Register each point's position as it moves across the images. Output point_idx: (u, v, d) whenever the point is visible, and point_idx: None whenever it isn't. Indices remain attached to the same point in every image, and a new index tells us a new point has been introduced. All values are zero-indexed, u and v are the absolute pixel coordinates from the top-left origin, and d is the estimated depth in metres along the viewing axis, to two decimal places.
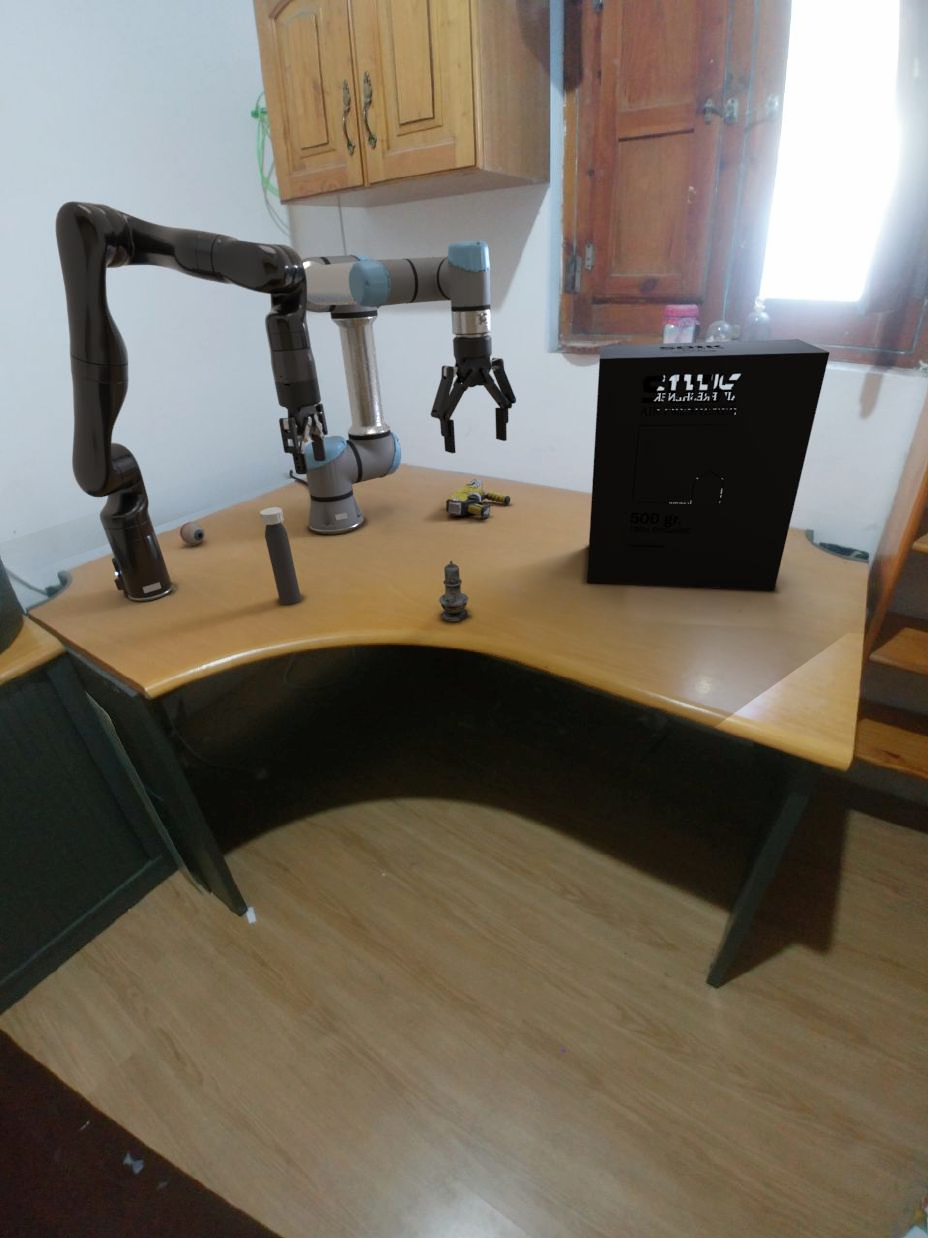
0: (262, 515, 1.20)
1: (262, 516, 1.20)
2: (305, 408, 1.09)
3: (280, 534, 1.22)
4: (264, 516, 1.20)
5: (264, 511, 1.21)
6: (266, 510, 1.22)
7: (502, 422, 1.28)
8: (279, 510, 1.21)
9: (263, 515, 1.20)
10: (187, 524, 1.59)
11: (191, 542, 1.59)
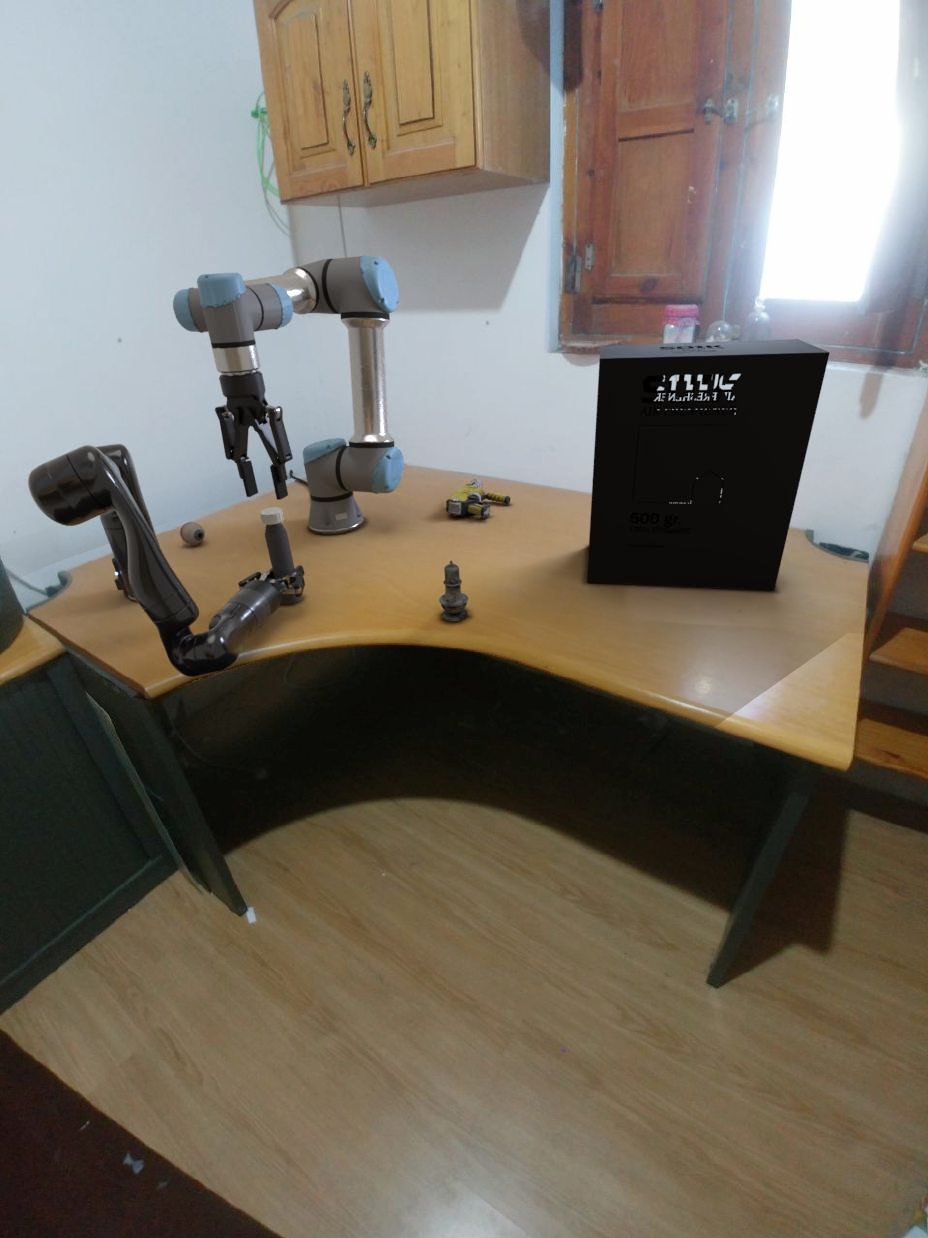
0: (262, 515, 1.20)
1: (262, 516, 1.20)
2: None
3: (280, 534, 1.22)
4: (264, 516, 1.20)
5: (264, 511, 1.21)
6: (266, 510, 1.22)
7: (252, 474, 1.20)
8: (279, 510, 1.21)
9: (263, 515, 1.20)
10: (187, 524, 1.59)
11: (191, 542, 1.59)
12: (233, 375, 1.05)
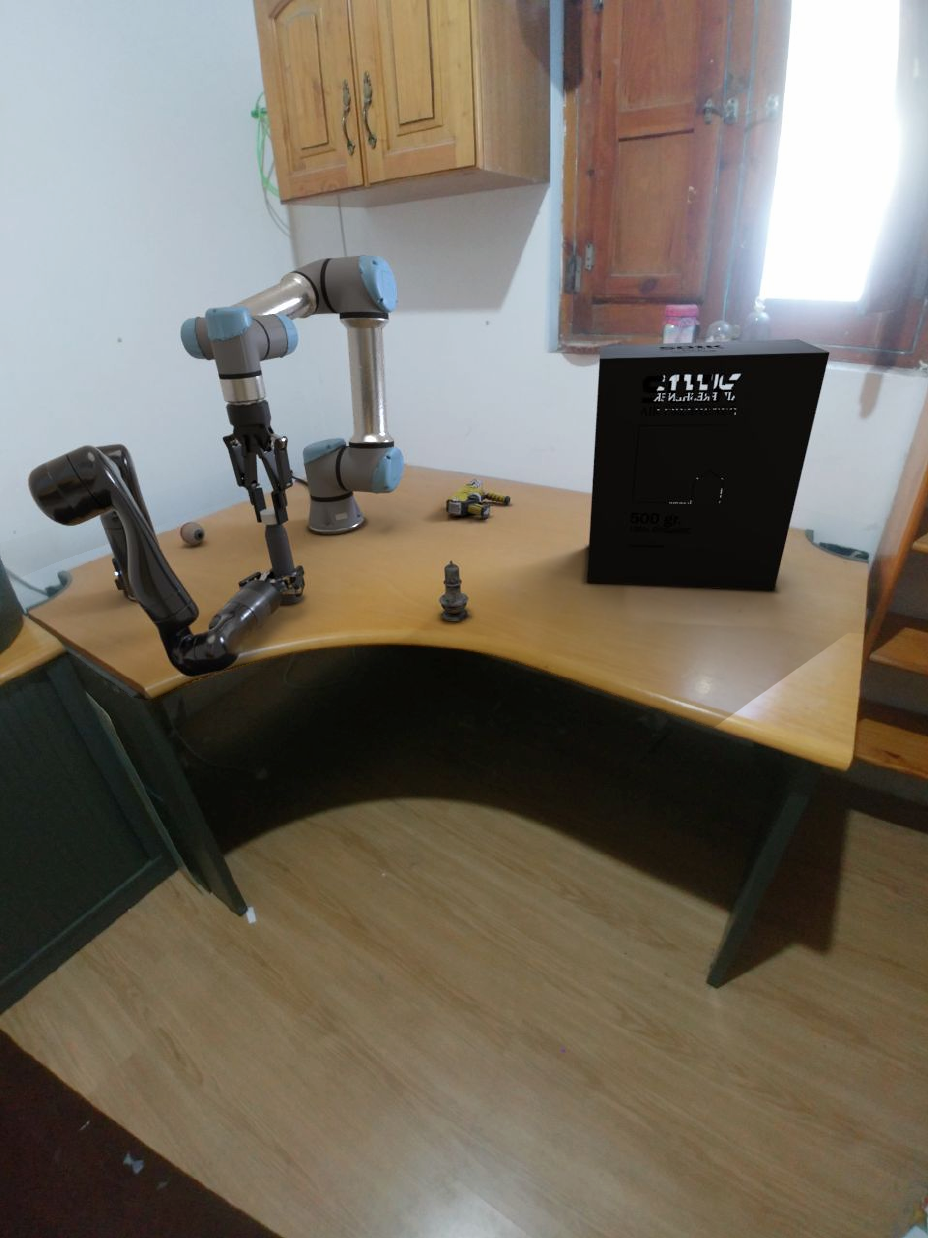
0: (262, 515, 1.20)
1: (262, 516, 1.20)
2: None
3: (280, 534, 1.22)
4: (264, 516, 1.20)
5: (264, 511, 1.21)
6: (266, 510, 1.22)
7: (263, 501, 1.22)
8: None
9: (263, 515, 1.20)
10: (187, 524, 1.59)
11: (191, 542, 1.59)
12: (240, 405, 1.08)
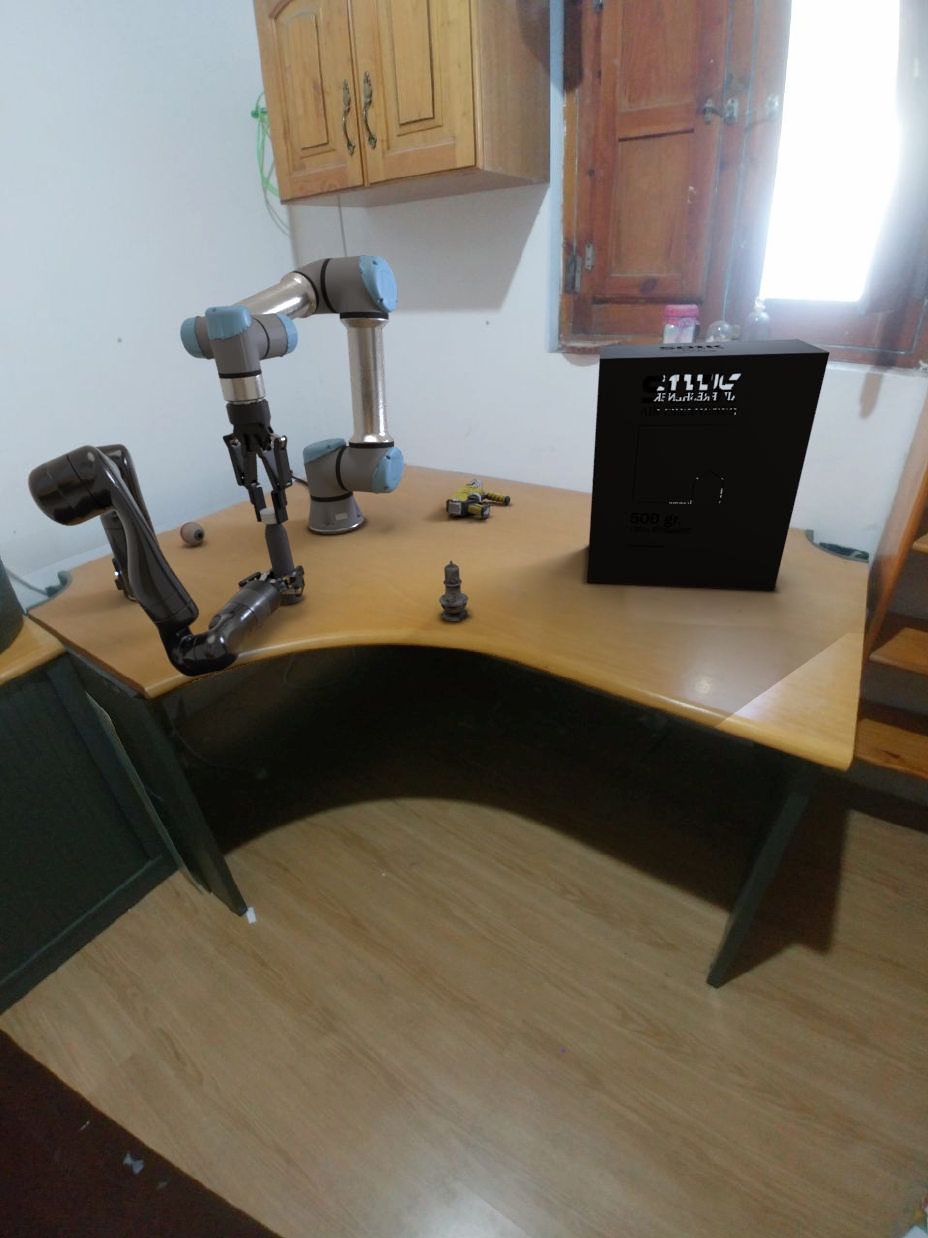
0: None
1: None
2: None
3: (280, 534, 1.22)
4: None
5: None
6: (271, 512, 1.20)
7: (263, 500, 1.22)
8: (265, 508, 1.22)
9: None
10: (187, 524, 1.59)
11: (191, 542, 1.59)
12: (239, 404, 1.08)
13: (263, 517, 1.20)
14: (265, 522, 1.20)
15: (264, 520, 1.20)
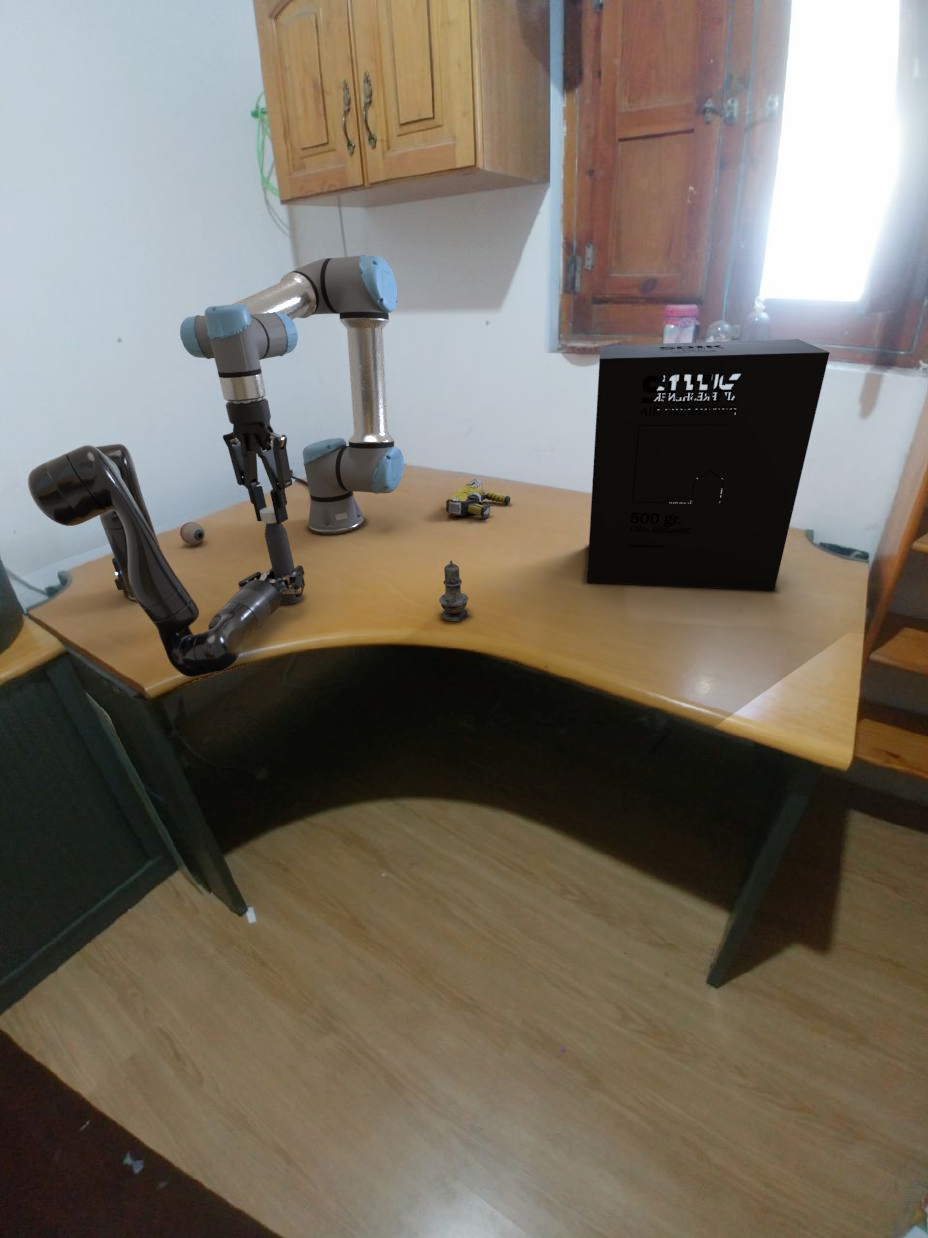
0: None
1: None
2: None
3: (280, 534, 1.22)
4: None
5: (271, 507, 1.22)
6: None
7: (263, 499, 1.22)
8: (268, 512, 1.20)
9: None
10: (187, 524, 1.59)
11: (191, 542, 1.59)
12: (239, 403, 1.08)
13: None
14: None
15: None
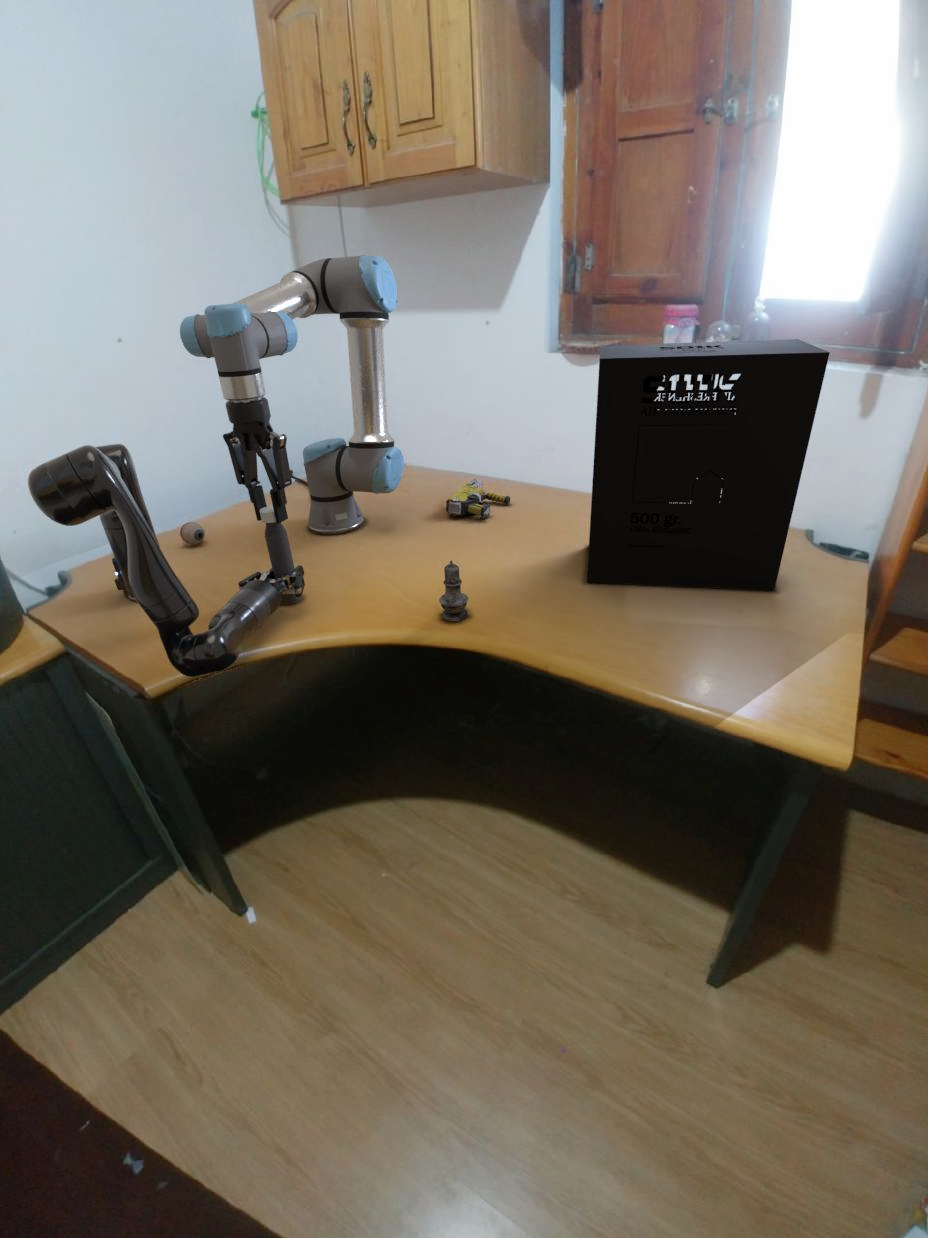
0: (269, 513, 1.19)
1: (269, 514, 1.19)
2: None
3: (280, 534, 1.22)
4: (271, 514, 1.20)
5: (265, 510, 1.20)
6: (264, 510, 1.21)
7: (263, 499, 1.22)
8: None
9: (271, 513, 1.19)
10: (187, 524, 1.59)
11: (191, 542, 1.59)
12: (239, 402, 1.08)
13: None
14: None
15: None
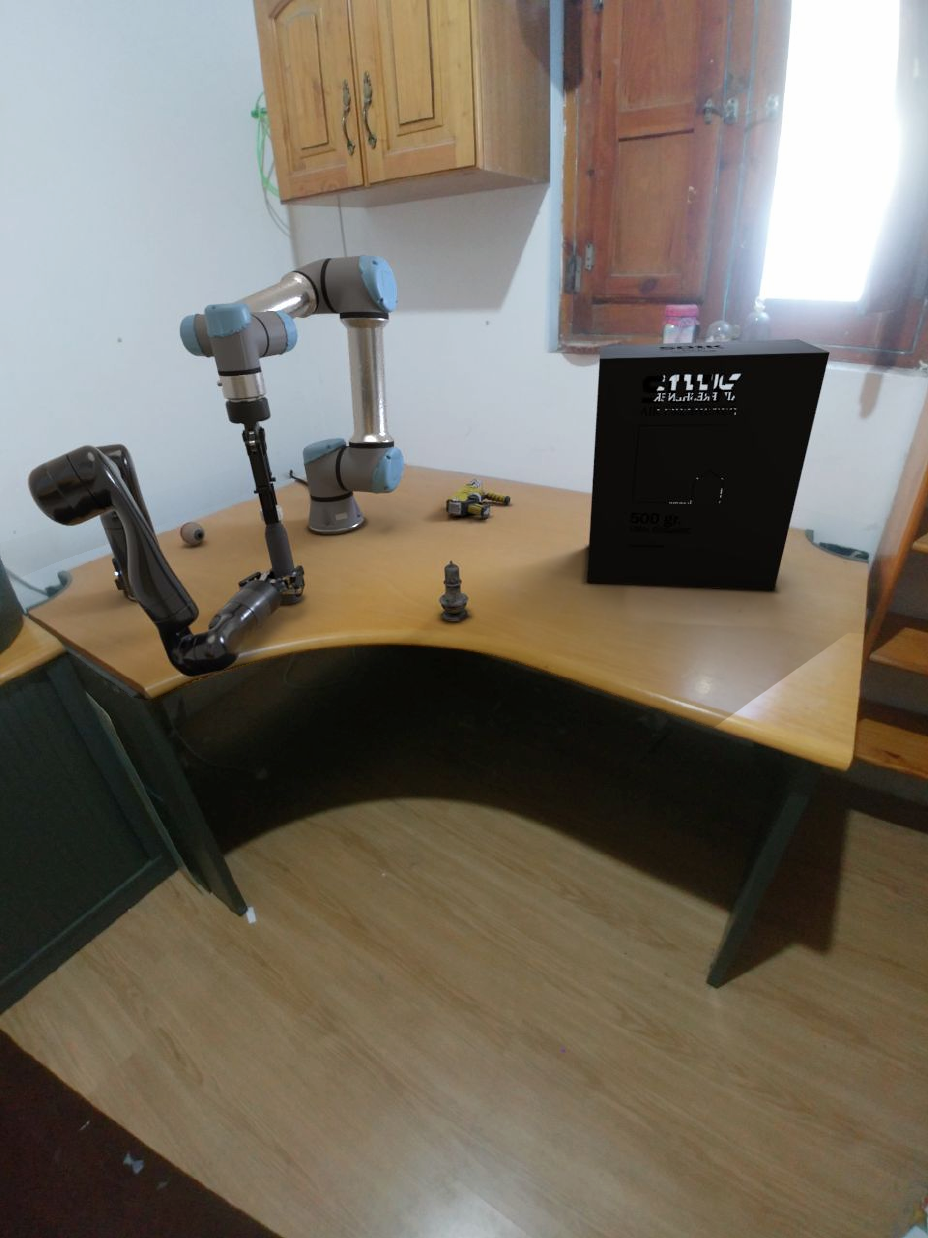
0: None
1: None
2: None
3: (280, 534, 1.22)
4: None
5: (276, 508, 1.21)
6: None
7: None
8: (261, 508, 1.21)
9: None
10: (187, 524, 1.59)
11: (191, 542, 1.59)
12: (263, 396, 1.12)
13: None
14: None
15: None
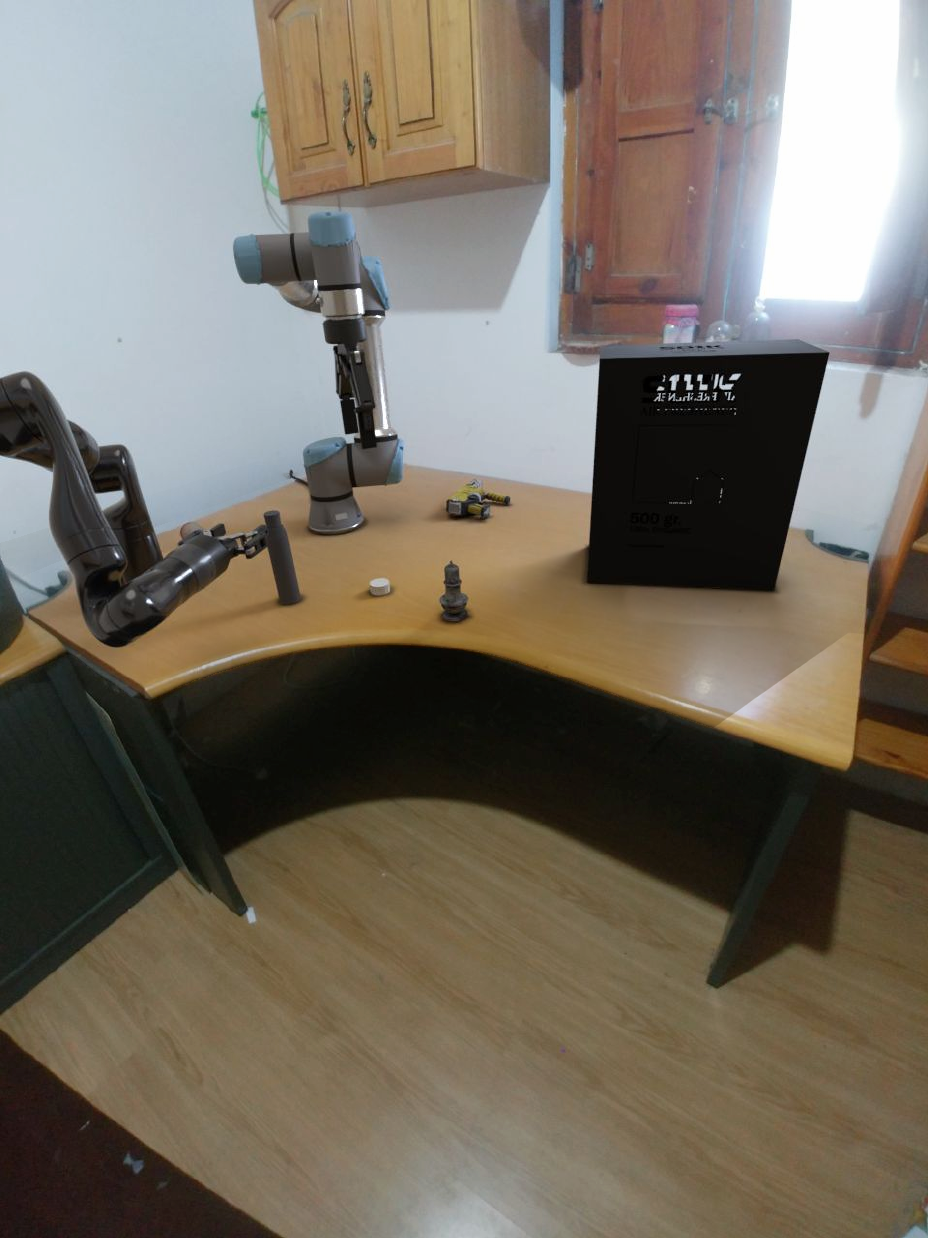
0: None
1: None
2: None
3: (280, 534, 1.22)
4: None
5: (385, 581, 1.32)
6: (383, 583, 1.31)
7: None
8: (371, 583, 1.32)
9: None
10: (187, 524, 1.59)
11: None
12: None
13: (381, 589, 1.30)
14: (382, 593, 1.31)
15: (382, 592, 1.31)
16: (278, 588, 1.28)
